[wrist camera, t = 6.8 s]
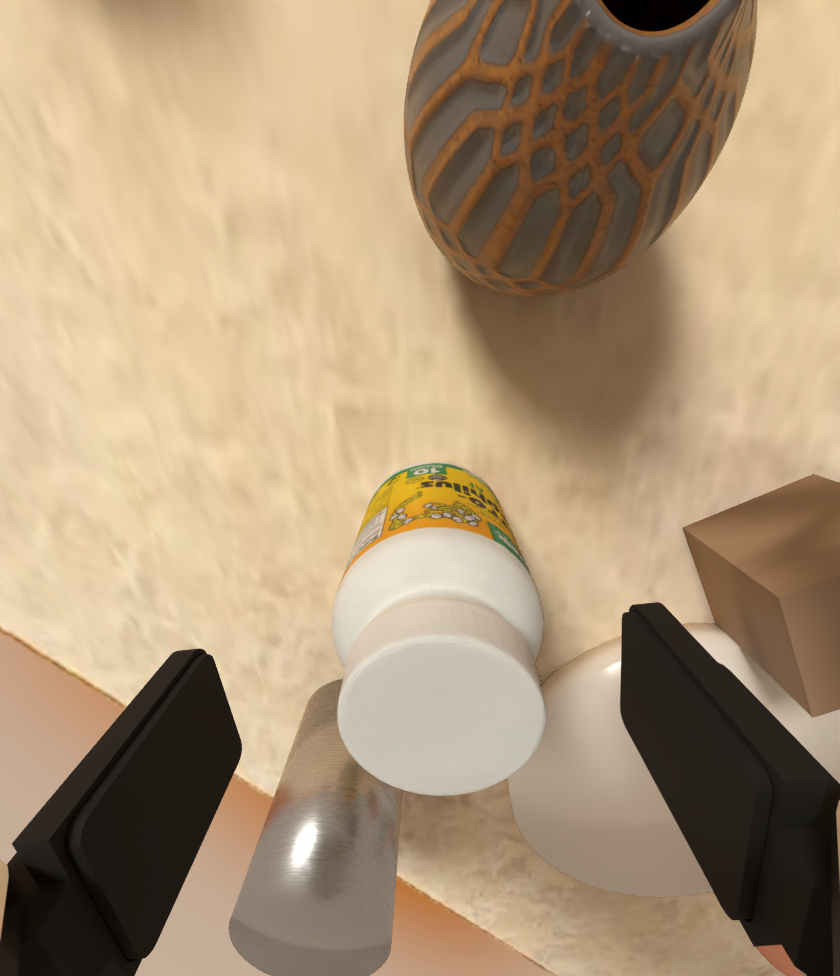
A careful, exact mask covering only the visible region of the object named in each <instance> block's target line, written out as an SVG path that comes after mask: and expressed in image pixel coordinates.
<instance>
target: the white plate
mask: <svg viewBox="0 0 840 976" xmlns="http://www.w3.org/2000/svg"><path fill="white" fill-rule="evenodd" d="M682 625H683V626H684V627H685V628H686V629H687V630H688V632H689V633H690V634H691V635H692V636H693V637H694V638H695V639H696V640H697V641H698V642H699V643H700V644H701V645H702V646H703V647H704V648H705V649H706V650H707V652H708V653H709V654H710V655H711V656H712V657H713V658H714V659H715V660H716V661H717V662H718V663H720V664H723V665H724V666H725V667H727V668H728V669H729V670H730V671H731V672H732V673H733V674H734V675H735V676H736V677H737V678H738V679H739V680H740V681H741V682H742V683H743V684H744V685H745V686H746V687H747V688H748V689H749V690H750V691H751V692H752V693H753V695H754V696H755V697H756V698H757V699H758V700H759V701H760V702H761V703H762V704H763V705H764V706H765V707H766V708H767V709H768V710H769V711H770V712H771V713H772V714H773V715H774V716H775V717H776V718H777V719H778V720H779V721H780V723H781V724H782V725H783V726H784V727H785V728H786V729H787V730H788V731H789V732H790V733H791V734H792V735H793V736H794V737H795V738H796V739H797V740H798V741H799V742H800V743H801V744H802V745H803V746H804V747H805V748H806V749H807V750H808V752H809V753H810V754H811V755H812V756H813V757H814V758H815V759H816V760H817V761H818V762H819V763H820V764H821V765H822V766H823V767H824V768H825V769H826V770H827V771H828V772H829V773H830V774H831V775H832V776H833V777H834V778H835V779H836V781H837V782H838V783H839V784H840V709H839V710H836V711H833V712H830V713H827V714H824V715H820V716H817V717H814V718H812V717H811V716H810V715H809V714H808V713H807V712H806V711H805V710H804V709H803V708H802V707H801V706H800V705H799V704H798V703H797V702H796V701H795V700H794V699H793V698H792V697H791V696H790V695H789V694H788V693H787V692H786V691H785V690H784V689H783V688H782V687H781V686H780V685H779V684H778V683H777V682H776V681H775V680H774V679H773V678H772V677H771V676H769V675H768V674H767V673H766V672H765V671H764V670H763V669H762V668H761V667H760V666H759V665H758V664H757V663H756V662H755V661H754V660H753V659H752V658H751V657H750V656H749V655H748V654H747V653H746V652H745V651H744V650H743V649H742V648H741V647H740V646H739V645H738V644H737V643H736V642H735V641H734V640H733V639H732V638H731V637H730V636H729V635H728V634H727V633H726V632H725V631H724V630H722V629H721V628H720V627H719V626H718V625H717V624H711V623H690V624H682ZM621 642H622V636H621V637H619V638H616V639H613V640H610V641H607V642H605V643H603V644H601V645H599V646H597V647H595V648H593V649H591V650H589V651H587V652H585V653H583V654H582V655H580V656H578V657H577V658H575V659H573V660H572V661H570V662H569V663H567V664H566V665H564V666H563V667H562V668H561V669H559V670H558V671H557V672H555V673H554V674H553V675H552V676H550V677H549V678H548V679H547V680H546V681H545V682H544V683H543V684H542V685H541V688H542V691H543V695H544V699H545V705H546V725H545V730H544V733H543V736H542V739H541V742H540V744H539V746H538V748H537V750H536V751H535V753H534V754H533V756H532V757H531V758H530V759H529V761H528V762H527V763H526V764H525V765H524V766H523V767H522V768H521V769H519V770H518V771H517V772H516V773H515V774H514V775H512V776H510V777H508V778H507V782H508V788H509V793H510V799H511V805H512V811H513V815H514V818H515V820H516V823H517V826H518V828H519V830H520V831H521V833H522V835H523V837H524V838H525V840H526V841H527V843H528V844H529V845H530V846H531V847H532V849H533V850H534V851H535V852H536V853H537V854H538V855H539V856H540V857H541V858H542V859H543V860H545V861H546V862H547V863H548V864H549V865H551V866H552V867H554V868H555V869H557V870H558V871H560V872H561V873H563V874H565V875H567V876H569V877H571V878H573V879H575V880H577V881H579V882H582V883H585V884H587V885H590V886H593V887H595V888H599V889H603V890H607V891H611V892H615V893H621V894H627V895H634V896H647V897H677V896H688V895H697V894H703V893H709V892H713V890H712V888H711V886H710V884H709V882H708V880H707V879H706V877H705V875H704V873H703V871H702V869H701V867H700V865H699V864H698V862H697V860H696V858H695V856H694V854H693V852H692V851H691V849H690V847H689V845H688V843H687V841H686V839H685V838H684V836H683V834H682V832H681V830H680V828H679V826H678V825H677V823H676V821H675V819H674V817H673V815H672V813H671V812H670V810H669V808H668V806H667V804H666V802H665V800H664V798H663V797H662V795H661V793H660V791H659V789H658V787H657V785H656V784H655V782H654V780H653V778H652V776H651V774H650V772H649V771H648V769H647V767H646V765H645V763H644V761H643V759H642V758H641V756H640V754H639V752H638V750H637V748H636V746H635V744H634V743H633V741H632V739H631V737H630V735H629V733H628V731H627V730H626V728H625V726H624V723H623V720H622V717H621V712H620V684H621Z"/></svg>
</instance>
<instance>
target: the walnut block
mask: <svg viewBox="0 0 840 976" xmlns="http://www.w3.org/2000/svg"><path fill="white" fill-rule="evenodd" d="M683 530H684V533H685V536H686V539H687V542H688V545H689V548H690V551H691V554H692V556H693V559H694V562H695V565H696V568H697V571H698V574H699V577H700V580H701V583H702V585H703V588H704V591H705V594H706V597H707V600H708V603H709V606H710V609H711V612H712V615H713V617H714V620H715V623H716V624H717V625H718V626H719V627H720V628H721V629H722V630H724V631H725V632H726V633H727V634H728V635H729V636H730V637H731V638H732V639H733V640H734V641H735V642H736V643H737V644H738V645H739V646H740V647H741V648H742V649H743V650H744V651H745V652H746V653H747V654H748V655H749V656H750V657H751V658H752V659H753V660H754V661H755V662H756V663H757V664H758V665H759V666H760V667H761V668H762V669H763V670H764V671H765V672H766V673H767V674H768V675H769V676H771V677H772V678H773V679H774V680H775V681H776V682H777V683H778V684H779V685H780V686H781V687H782V688H783V689H784V690H785V691H786V692H787V693H788V694H789V695H790V696H791V697H792V698H793V699H794V700H795V701H796V702H797V703H798V704H799V705H800V706H801V707H802V708H803V709H804V710H805V711H806V712H807V713H808V714H809V715H810V716H811V717H812V718H814V717H817V716H820V715H824V714H827V713H830V712H833V711H836V710H839V709H840V483H838V482H835V481H832V480H829V479H826V478H823V477H821V476H818V475H815V474H813V475H810V476H808V477H805V478H803V479H800V480H798V481H796V482H793V483H791V484H788V485H786V486H783V487H781V488H778V489H776V490H774V491H771V492H769V493H766V494H764V495H761V496H759V497H756V498H754V499H752V500H749V501H747V502H744V503H742V504H739V505H737V506H735V507H732V508H730V509H727V510H725V511H722V512H720V513H717V514H715V515H713V516H710V517H708V518H705V519H703V520H700V521H698V522H695V523H693V524H691V525H688V526H686V527H683Z"/></svg>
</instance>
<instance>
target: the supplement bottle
mask: <svg viewBox="0 0 840 976" xmlns="http://www.w3.org/2000/svg"><path fill="white" fill-rule="evenodd" d="M543 631H544V616H543V608H542V603H541V600H540V596H539V593H538V590H537V587H536V585H535V583H534V580H533V578H532V576H531V574H530V572H529V569H528V567H527V565H526V563H525V561H524V559H523V556H522V554H521V552H520V550H519V547H518V545H517V543H516V541H515V538H514V535H513V533H512V531H511V529H510V527H509V525H508V523H507V520H506V518H505V516H504V514H503V511H502V509H501V506H500V504H499V502H498V500H497V498H496V496H495V494H494V493H493V491H492V489H491V488H490V487H489V485H488V484H487V483H486V482H485V481H484V480H483V479H482V478H481V477H479V476H478V475H477V474H476V473H474V472H473V471H471V470H469V469H467V468H465V467H463V466H461V465H458V464H455V463H451V462H446V461H430V462H420V463H415V464H411V465H408V466H405V467H403V468H401V469H399V470H397V471H395V472H394V473H392V474H391V475H390V476H389V477H388V478H386V479H385V480H384V481H383V482H382V484H381V485H380V486H379V487H378V488H377V490H376V491H375V493H374V495H373V497H372V499H371V501H370V504H369V506H368V508H367V511H366V514H365V516H364V519H363V522H362V525H361V528H360V530H359V533H358V536H357V539H356V541H355V544H354V547H353V550H352V552H351V555H350V558H349V560H348V563H347V566H346V569H345V572H344V574H343V577H342V580H341V583H340V585H339V588H338V591H337V594H336V598H335V602H334V606H333V614H332V633H333V640H334V644H335V648H336V651H337V654H338V657H339V659H340V661H341V663H342V665H343V667H344V669H345V671H344V678H343V682H342V686H341V691H340V695H339V700H338V708H337V718H338V727H339V731H340V735H341V737H342V740H343V742H344V744H345V746H346V748H347V750H348V751H349V753H350V754H351V756H352V757H353V758H354V759H355V760H356V761H357V762H358V763H359V765H360V766H362V767H363V768H364V769H365V770H366V771H368V772H369V773H370V774H372V775H373V776H374V777H376V778H377V779H379V780H380V781H382V782H385V783H387V784H389V785H391V786H393V787H396V788H398V789H401V790H404V791H409V792H412V793H416V794H422V795H431V796H450V795H461V794H467V793H473V792H478V791H480V790H483V789H486V788H488V787H491V786H493V785H495V784H497V783H499V782H502V781H504V780H506V779H507V778H508V777H510V776H512V775H514V774H515V773H516V772H517V771H518V770H519V769H521V768H522V767H523V766H524V765H525V764H526V763H527V762H528V761H529V759H530V758H531V757H532V756H533V754H534V753H535V751H536V750H537V748H538V746H539V744H540V742H541V739H542V736H543V733H544V730H545V725H546V705H545V699H544V695H543V691H542V688H541V684H540V681H539V677H538V673H537V669H536V663H535V661H536V659H537V657H538V654H539V652H540V648H541V645H542V639H543Z"/></svg>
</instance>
